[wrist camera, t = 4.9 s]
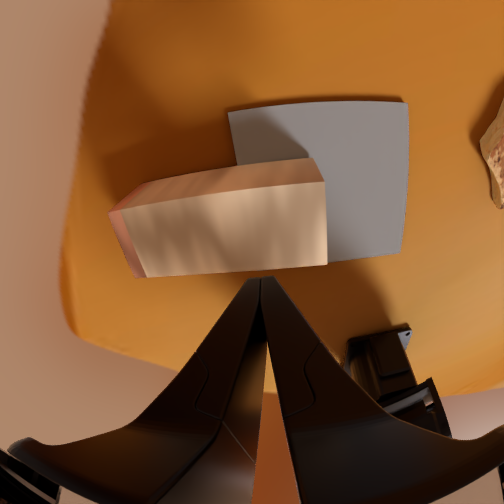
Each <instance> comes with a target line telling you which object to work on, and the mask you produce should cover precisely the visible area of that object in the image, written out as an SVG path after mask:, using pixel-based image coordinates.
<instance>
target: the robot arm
mask: <svg viewBox="0 0 504 504" xmlns="http://www.w3.org/2000/svg"><path fill="white" fill-rule="evenodd" d="M411 335H412V330H411V328H410V327H407V328H403V329H399V330H394V331H389V332H385V333H380V334H375V335H369V336H364V337H359V338H353V339H350V340H349V341H348V342H347V347H346V353H345V358H344V364H343V368H342V367H341V365H340V364H339V363H338V362H337V361H336V359H335V358H334V357H333V356H332V354H331V353H330V352H329V350H328V349H327V348H326V346H325V345H324V344H323V342H321V340H320V338H319V337H318V335H317V334H316V333H315V331H314V330H313V329H312V327H311V326H310V324H309V323H308V322H307V320H306V319H305V317H304V316H303V315H302V313H301V312H300V311H299V309H298V308H297V306H296V305H295V304H294V302H293V301H292V299H291V298H290V297H289V295H288V294H287V293H286V291H285V290H284V288H283V287H282V286H281V284H280V283H279V282H278V280H277V279H276V277H275V276H264V277H262V278H260V277H255V278H248V279H247V280H246V282H245V283H244V284H243V286H242V287H241V289H240V290H239V291H238V293H237V294H236V296H235V297H234V298H233V300H232V301H231V303H230V304H229V305H228V307H227V308H226V310H225V311H224V312H223V314H222V315H221V317H220V318H219V319H218V321H217V322H216V324H215V325H214V326H213V328H212V329H211V330H210V332H209V333H208V335H207V336H206V337H205V339H204V340H203V342H202V343H201V344H200V346H199V347H198V348H197V350H196V352H194V354H193V355H192V356H191V358H190V359H189V361H188V362H187V363H186V364H185V366H184V367H183V368H182V370H181V371H180V372H179V373H178V375H177V376H176V377H175V378H174V379H173V380H172V381H171V383H170V384H169V385H168V386H167V387H166V388H165V389H164V390H163V391H162V392H161V393H160V394H159V395H158V397H157V398H156V399H155V400H154V401H153V402H152V403H151V404H150V405H149V406H148V407H147V408H146V409H145V410H144V411H143V412H142V413H141V414H140V415H139V416H138V417H137V418H136V419H135V420H133V421H132V422H131V423H129V424H128V425H126V426H124V427H122V428H119V429H116V430H113V431H110V432H107V433H104V434H100V435H97V436H93V437H90V438H86V439H83V440H79V441H75V442H72V443H67V444H63V445H45V444H42V443H40V442H39V441H37V440H35V439H33V438H30V437H27V438H25V439H21V440H18V441H16V442H14V443H13V444H12V445H11V446H10V447H9V448H8V449H7V451H8V452H9V453H10V454H11V455H10V454H9V453H7V452H6V451H4V450H3V449H1V448H0V504H251V500H252V492H253V484H254V476H255V466H256V465H255V464H256V458H257V449H258V439H259V430H260V420H261V410H262V399H263V389H264V378H265V366H266V355H267V342H268V348H269V353H270V358H271V363H272V368H273V373H274V378H275V383H276V388H277V393H278V398H279V403H280V408H281V413H282V418H283V423H284V428H285V433H286V438H287V443H288V448H289V452H290V457H291V463H292V467H293V472H294V477H295V482H296V488H297V493H298V497H299V502H300V504H504V425H501V426H499V427H497V428H495V429H494V430H492V431H490V432H489V433H487V434H485V435H484V436H482V437H480V438H477V439H473V440H457V439H453V438H452V435H451V431H450V427H449V424H448V420H447V417H446V414H445V411H444V409H443V406H442V403H441V400H440V398H439V395H438V392H437V390H436V387H435V385H434V382H433V380H432V377H430V378H428V379H426V381H425V382H423V383H421V384H419V385H418V384H417V381H416V379H415V376H414V373H413V370H412V368H411V365H410V362H409V360H408V357H407V355H406V352H405V350H406V348H407V345H408V343H409V340H410V338H411ZM430 401H433V403H432V404H430V405H428V406H426V405H425V404H427V403H428V402H430Z"/></svg>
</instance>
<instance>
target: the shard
mask: <svg viewBox="0 0 504 504" xmlns="http://www.w3.org/2000/svg"><path fill="white" fill-rule="evenodd" d="M479 142H480V147H481V152H482V156H483V158H484V159H485V161H486V162H487V164H488V166H489V169H490V175H491V182H492V198H493V202H494V203H495V205H496V207H497V208H498V209H503V208H504V98H503V101H502V104H501V106H500V108H499V111H498V113H497V116H496V118H495V119H494V121H493V122H492V123H491V125H490V126H489V127H488V129H487V131H486V133H485V134H484V135H483V136H482V138H481V139H480V141H479Z"/></svg>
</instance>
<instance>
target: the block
mask: <svg viewBox="0 0 504 504" xmlns="http://www.w3.org/2000/svg"><path fill="white" fill-rule="evenodd" d="M107 213H108V216H109V218H110V221H111V223H112V226H113V228H114V231H115V233H116V236H117V238H118V241H119V243H120V245H121V248H122V250H123V252H124V255H125V257H126V259H127V261H128V264H129V266H130V268H131V270H132V272H133V274H134V277H135V278H146V277H164V276H181V275H197V274H212V273H227V272H241V271H255V270H268V269H281V268H294V267H306V266H318V265H327V219H326V196H325V181H324V179H323V177H322V175H321V173H320V171H319V169H318V167H317V165H316V163H315V161H314V159H313V158H302V159H291V160H281V161H272V162H263V163H255V164H247V165H240V166H233V167H226V168H220V169H214V170H208V171H202V172H196V173H191V174H185V175H180V176H175V177H170V178H165V179H160V180H155V181H151V182H146V183H142V184H140V185H139V186H138V187H137V188H135V189H134V190H133V191H132V192H131V193H129V194H128V195H127V196H126V197H125V198H123V199H122V200H121V201H120V202H119V203H118V204H116V205H115V206H114V207H113V208H112V209H111V210H110V211H109V212H107Z"/></svg>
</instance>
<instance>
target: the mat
mask: <svg viewBox="0 0 504 504" xmlns="http://www.w3.org/2000/svg"><path fill="white" fill-rule="evenodd" d="M228 118H229V123H230V128H231V134H232V139H233V145H234V150H235V155H236V161H237V166H240V165H247V164H255V163H263V162H272V161H281V160H291V159H302V158H313V159H314V161H315V163H316V165H317V167H318V169H319V171H320V173H321V175H322V177H323V179H324V181H325V196H326V219H327V263H329V262H337V261H345V260H353V259H360V258H368V257H375V256H382V255H389V254H396V253H400V250H401V244H402V236H403V229H404V220H405V211H406V200H407V187H408V168H409V118H408V103H403V102H386V101H325V102H308V103H295V104H284V105H275V106H267V107H259V108H252V109H245V110H239V111H233V112H228ZM268 270H271V269H268ZM257 271H263V270H257Z"/></svg>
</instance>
